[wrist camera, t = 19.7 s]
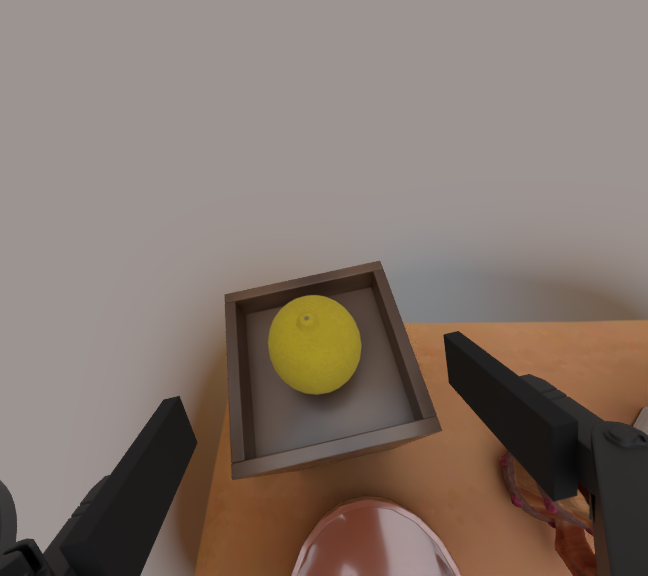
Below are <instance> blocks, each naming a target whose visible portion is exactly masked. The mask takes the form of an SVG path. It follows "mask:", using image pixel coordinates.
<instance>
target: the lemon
mask: <svg viewBox="0 0 648 576" xmlns="http://www.w3.org/2000/svg"><path fill="white" fill-rule="evenodd" d="M268 348H269V356H270V359H271V362H272V364H273V367H274V369H275V371H276V372H277V374H278V375H279V376H280V377H281V379H282V380H283V381H284V382H285V383H286V384H288V385H289V386H290V387H292V388H293V389H295V390H298V391H300V392H303V393H306V394H316V395H318V394H324V393H329V392H332V391H334V390H336V389H338V388H340V387H341V386H342V385H343V384H345V383H346V382H347V381H348V380H349V379H350V377H351V376H352V375H353V373H354V372H355V370H356V368H357V365H358V363H359V360H360V355H361V339H360V332H359V330H358V327H357V325H356V323H355V320H354V319H353V317H352V316H351V315H350V313H349V312H348V311H347V310H346V309H345V308H344V307H343V306H342V305H340V304H339V303H338V302H337V301H335V300H332V299H330V298H328V297H324V296H318V295H309V296H303V297H300V298H297V299H295V300H293V301H291V302H289V303H288V304H286V305H285V306H284V307H283V308H282V309H281V310H280V311H279V312H278V314H277V315H276V316H275V318H274V320H273V322H272V325H271V327H270V331H269V338H268Z"/></svg>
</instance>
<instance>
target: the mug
mask: <svg viewBox="0 0 648 576" xmlns="http://www.w3.org/2000/svg"><path fill="white" fill-rule="evenodd" d="M500 462H501V464H502V465H503V476H504V480H505V483H506V486H507V488H508V490H509V492H510V494H511V501H512V503H513V504H514V505H515V506H517V507H521V508H522V509H523V510H524V511H526V512H527V513H529V514H530V515H532V516H534V517H536V518H537V519H540V520H543V521H546V522H548V524H549V525H550V526H552V527H553V528H556V539H555V550H556V551H557V553H558V554H559V555H560V557H561V558H562V559H563V561H564V563H565V564H566V566H567V567H568V569H569V570H570V571H571V573H572V574H573V575H574V576H598V574H597V565H596V556H595V554H594V553H593V552H592V550H591V548H590V546H589V544H588V542H587V541H586V538H585V533H584V529H585V530H586V531H587V532H588V533H589V534H591V535H592V536H593V528H592V520H590V519H589V502H590V491H589V490H588V489H587V488H586V487H584V486H583V485H582V484H581V483H580V482H579V481H578V492H577V496H575V497H571V498H567V499H563V500H559V501H555V502H553V501H552V500H551V498H550V497H549V496H548V495H547V494H546V493H545V492H544V490H543V489H542V488H541V487H540V486H539V485H538V484H537V482H536V481H535V480H534V479H533V478H532V477H531V476H530V474H529V473H528V472H527V471H526V470H525V469H524V468H523V467H522V465H521V464H520V463H519V462H518V461H517V460H516V459H515V457H514V456H513V455H512V454H511V453H510V452H509V451H508V453H507V454H506V456H503V457H502V458H501V460H500ZM583 528H584V529H583Z"/></svg>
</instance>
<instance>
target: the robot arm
mask: <svg viewBox="0 0 648 576" xmlns="http://www.w3.org/2000/svg"><path fill="white" fill-rule="evenodd" d="M444 343H445V352H446V361H447V369H448V378H449V384H450V385H451V386H452V387H453V388H454V389H455V390H456V391H457V393H458V394H459V395H460V396H461V397H462V398H463V399H464V401H465V402H466V403H467V404H468V405H469V406H470V407H471V409H472V410H473V411H474V412H475V413H476V414H477V415H478V416H479V418H480V419H481V420H482V421H483V422H484V423H485V424H486V426H487V427H488V428H489V429H490V430H491V431H492V432H493V434H494V435H495V436H496V437H497V438H498V439H499V440H500V442H501V443H502V444H503V445H504V446H505V447H506V448H507V449H508V451H509V452H510V453H511V454H512V455H513V456H514V457H515V459H516V460H517V461H518V462H519V463H520V464H521V465H522V467H523V468H524V469H525V470H526V471H527V472H528V473H529V474H530V476H531V477H532V478H533V479H534V480H535V481H536V482H537V484H538V485H539V486H540V487H541V488H542V489H543V490H544V492H545V493H546V494H547V495H548V496H549V497H550V498H551V500H552V501H553V502H555V501H559V500H563V499H567V498H571V497H575V496H577V492H578V481H579V482H580V483H581V484H582V485H583V486H584V487H586V488H587V489H588V490H589V491H590V502H589V519H590V520H592V528H593V537H594V546H595V556H596V565H597V574H598V576H648V435H647V434H645V433H644V432H643V431H641V430H639V429H637V428H635V427H632V426H630V425H626V424H623V423H619V422H610V421H604V420H602V419H601V418H599V417H598V416H596V415H595V414H593V413H592V412H590V411H589V410H588V409H586V408H585V407H583V406H582V405H580V404H579V403H577V402H576V401H574V400H573V399H571V398H570V397H567V396H566V394H564V393H563V392H561V391H560V390H557V389H556V388H555V387H554V386H552V385H551V384H550V383H548V382H547V381H545V380H543V379H541V378H538V377H535V376H533V375H530V374H528V375H523V376H518V375H517V374H515V373H514V372H513V371H511V370H510V369H509V368H507V367H506V366H504V365H503V364H502V363H500V362H499V361H498V360H496V359H495V358H494V357H492V356H491V355H490V354H488V353H487V352H486V351H484V350H483V349H482V348H480V347H479V346H478V345H476V344H475V343H474V342H472V341H471V340H470V339H468V338H467V337H466V336H464V335H463V334H462V333H460V332H459V331H457V332H452V333H448V334H444ZM196 445H197V440H196V438H195V435H194V433H193V430H192V427H191V425H190V422H189V420H188V417H187V414H186V412H185V409H184V406H183V404H182V401H181V399H180V396H177V397H173V398H169V399H164V400H163V401H162V403H161V404H160V406H159V407H158V408H157V410H156V411H155V413H154V414H153V415H152V417H151V418H150V420H149V421H148V422H147V424H146V426H145V427H144V428H143V430H142V431H141V432H140V434H139V435H138V437H137V438H136V440H135V441H134V442H133V444H132V445H131V447H130V448H129V449H128V451H127V452H126V453H125V455H124V456H123V458H122V459H121V461H120V462H119V463H118V465H117V466H116V468H115V469H114V470H113V472H112V473H111V475H108V476H105V477H104V478H103V479H102V480H100V481H99V482H98V483H97V484H96V485H95V486H94V487H93V488H92V489H91V490H90V491H89V492H88V494H87V495H86V497H85V498H84V499H83V501H82V502H81V503H80V506H78V508H77V509H76V510H75V511H74V513H73V514H72V517H71V518H69V519H68V521H67V522H66V524H65V525H64V526H63V528H62V529H61V530H60V532H59V533H58V534H57V536H56V537H55V538H54V540H53V541H52V542H51V544H50V545H49V546H48V548H47V549H46V550H45V552H44V553H43V554H42V552H41V551H40V549H39V547H38V546H37V544H36V542H35V541H34V539H24V540H21V541H18V542H16V543H14V544H12V545H10V546H8V547H6V548H5V549H3V550H2V551H0V576H140V575H141V572H142V570H143V568H144V565H145V563H146V561H147V558H148V556H149V554H150V552H151V549H152V547H153V544H154V542H155V540H156V537H157V535H158V533H159V531H160V528H161V526H162V524H163V521H164V519H165V517H166V514H167V512H168V510H169V507H170V505H171V503H172V501H173V498H174V496H175V494H176V491H177V489H178V487H179V484H180V482H181V480H182V477H183V475H184V473H185V470H186V468H187V466H188V464H189V461H190V459H191V457H192V454H193V452H194V449H195V447H196Z"/></svg>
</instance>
